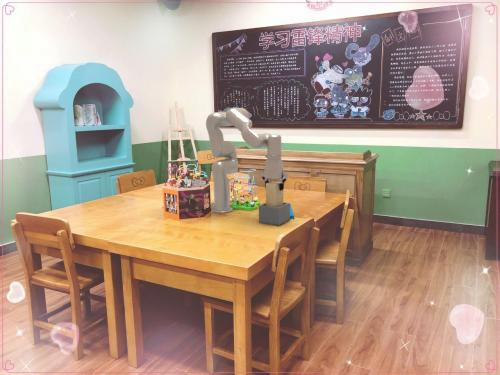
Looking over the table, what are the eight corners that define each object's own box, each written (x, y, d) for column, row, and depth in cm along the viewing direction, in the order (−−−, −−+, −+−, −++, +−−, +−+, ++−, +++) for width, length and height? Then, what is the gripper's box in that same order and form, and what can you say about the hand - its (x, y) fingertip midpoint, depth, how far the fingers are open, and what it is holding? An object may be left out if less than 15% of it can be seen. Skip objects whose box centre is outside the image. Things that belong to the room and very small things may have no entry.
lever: (293, 226, 238) (288, 210, 254) (294, 215, 235) (289, 200, 251) (281, 226, 238) (277, 210, 254) (282, 216, 235) (278, 200, 251)
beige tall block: (272, 217, 236) (272, 181, 232) (283, 219, 231) (283, 182, 227) (264, 220, 229) (264, 183, 226) (275, 222, 225) (275, 184, 221)
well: (258, 223, 228) (258, 205, 226) (270, 217, 239) (270, 200, 237) (279, 226, 222) (279, 208, 220) (289, 220, 233) (289, 203, 231)
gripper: (256, 157, 225) (257, 189, 228) (285, 159, 216) (285, 192, 219) (263, 156, 231) (263, 186, 234) (291, 157, 222) (291, 189, 226)
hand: (274, 189), depth 227 cm, fingers open, 8 cm apart
